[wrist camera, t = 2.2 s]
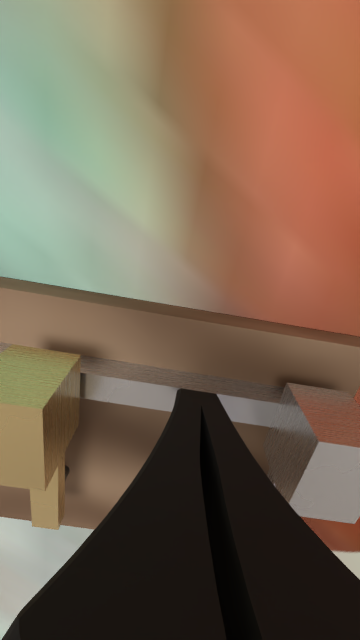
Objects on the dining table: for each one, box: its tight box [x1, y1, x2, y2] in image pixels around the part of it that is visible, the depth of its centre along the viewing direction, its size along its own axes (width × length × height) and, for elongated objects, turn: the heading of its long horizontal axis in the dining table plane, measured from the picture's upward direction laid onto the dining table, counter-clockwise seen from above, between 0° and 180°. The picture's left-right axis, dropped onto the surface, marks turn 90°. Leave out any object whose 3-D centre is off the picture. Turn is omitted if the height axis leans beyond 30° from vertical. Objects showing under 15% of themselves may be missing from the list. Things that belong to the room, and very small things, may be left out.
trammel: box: [0, 342, 360, 524], centre depth 11 cm, size 9×21×4 cm, turn 80°
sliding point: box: [0, 344, 81, 530], centre depth 11 cm, size 9×2×4 cm, turn 170°
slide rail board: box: [0, 277, 360, 529], centre depth 14 cm, size 14×22×1 cm, turn 80°
